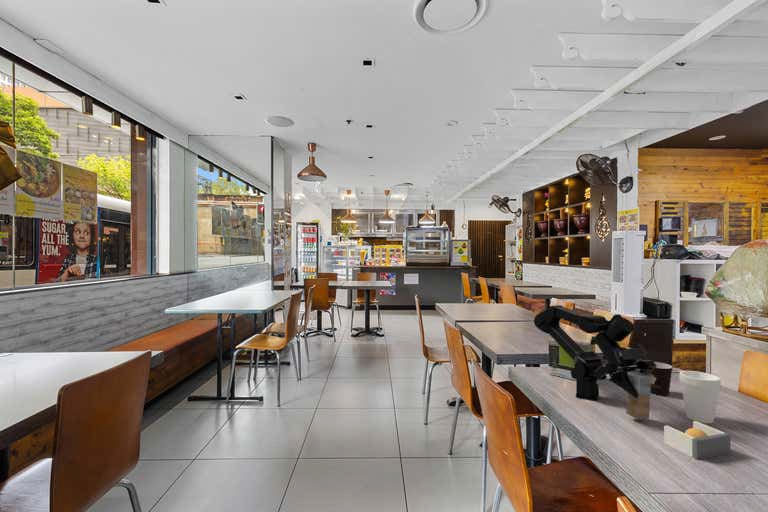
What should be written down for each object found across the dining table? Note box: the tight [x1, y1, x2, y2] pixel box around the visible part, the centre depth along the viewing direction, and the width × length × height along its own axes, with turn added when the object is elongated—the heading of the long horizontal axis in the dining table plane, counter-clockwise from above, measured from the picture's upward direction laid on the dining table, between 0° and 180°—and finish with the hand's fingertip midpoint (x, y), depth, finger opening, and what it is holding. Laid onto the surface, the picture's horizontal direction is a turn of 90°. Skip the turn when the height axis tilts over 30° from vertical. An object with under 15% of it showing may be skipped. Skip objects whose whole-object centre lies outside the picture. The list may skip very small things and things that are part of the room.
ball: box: [684, 427, 708, 438], centre depth 94 cm, size 5×5×5 cm
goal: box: [663, 420, 731, 460], centre depth 94 cm, size 8×11×4 cm
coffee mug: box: [646, 361, 673, 397], centre depth 133 cm, size 12×9×10 cm
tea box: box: [547, 338, 596, 381], centre depth 151 cm, size 15×10×15 cm
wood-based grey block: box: [625, 372, 651, 421], centre depth 110 cm, size 4×4×12 cm
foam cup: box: [679, 370, 722, 424], centre depth 111 cm, size 10×9×13 cm
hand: (643, 396), depth 108 cm, fingers closed on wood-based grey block, 4 cm apart
